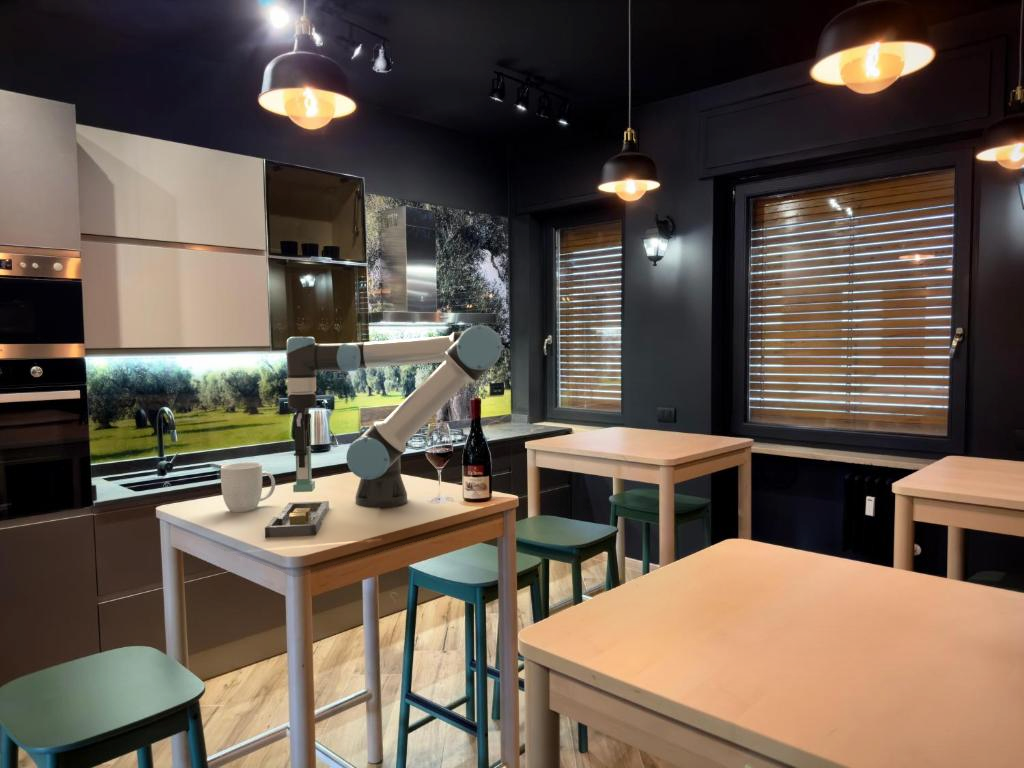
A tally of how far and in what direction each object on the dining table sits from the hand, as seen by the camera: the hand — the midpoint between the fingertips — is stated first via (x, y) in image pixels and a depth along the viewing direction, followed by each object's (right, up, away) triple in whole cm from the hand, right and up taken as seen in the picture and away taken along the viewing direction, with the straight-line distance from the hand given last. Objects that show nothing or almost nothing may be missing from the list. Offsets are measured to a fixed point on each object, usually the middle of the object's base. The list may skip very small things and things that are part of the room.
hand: (304, 477), depth 191 cm
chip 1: (+1, -11, -10) cm, 15 cm away
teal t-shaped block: (0, -4, 0) cm, 4 cm away
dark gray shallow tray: (+1, -11, -3) cm, 11 cm away
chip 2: (+1, -11, -6) cm, 12 cm away
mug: (-19, -11, +7) cm, 23 cm away
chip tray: (+3, -12, -17) cm, 21 cm away
